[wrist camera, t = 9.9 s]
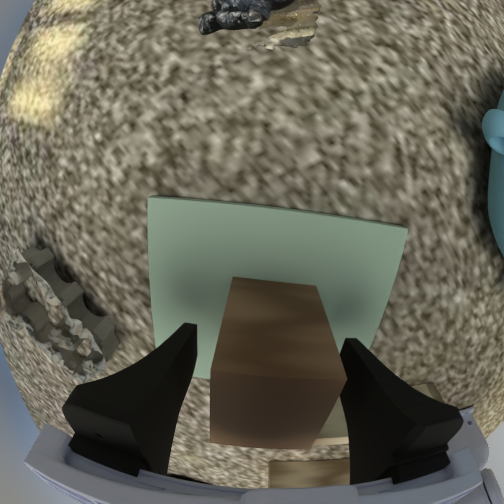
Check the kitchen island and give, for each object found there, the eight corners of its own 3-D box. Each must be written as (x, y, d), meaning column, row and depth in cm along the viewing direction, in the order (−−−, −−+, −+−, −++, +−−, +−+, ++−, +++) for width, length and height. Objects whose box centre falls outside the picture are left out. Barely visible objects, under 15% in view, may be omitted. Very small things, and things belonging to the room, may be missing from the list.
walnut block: (315, 285, 15) (347, 379, 8) (298, 354, 16) (310, 448, 10) (232, 276, 15) (210, 369, 8) (226, 348, 16) (210, 442, 10)
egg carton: (16, 279, 17) (-12, 299, 13) (44, 227, 15) (6, 245, 11) (91, 368, 19) (71, 398, 16) (135, 337, 18) (112, 374, 14)
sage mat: (403, 226, 14) (408, 229, 13) (350, 381, 18) (351, 387, 17) (152, 195, 14) (147, 197, 13) (161, 364, 18) (159, 370, 17)
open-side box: (433, 382, 18) (452, 417, 14) (374, 457, 23) (381, 486, 19) (296, 390, 18) (300, 438, 14) (268, 464, 23) (268, 497, 19)
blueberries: (340, 35, 11) (349, 21, 9) (212, 97, 12) (204, 89, 11) (273, -37, 9) (273, -54, 7) (155, 19, 11) (143, 7, 9)
